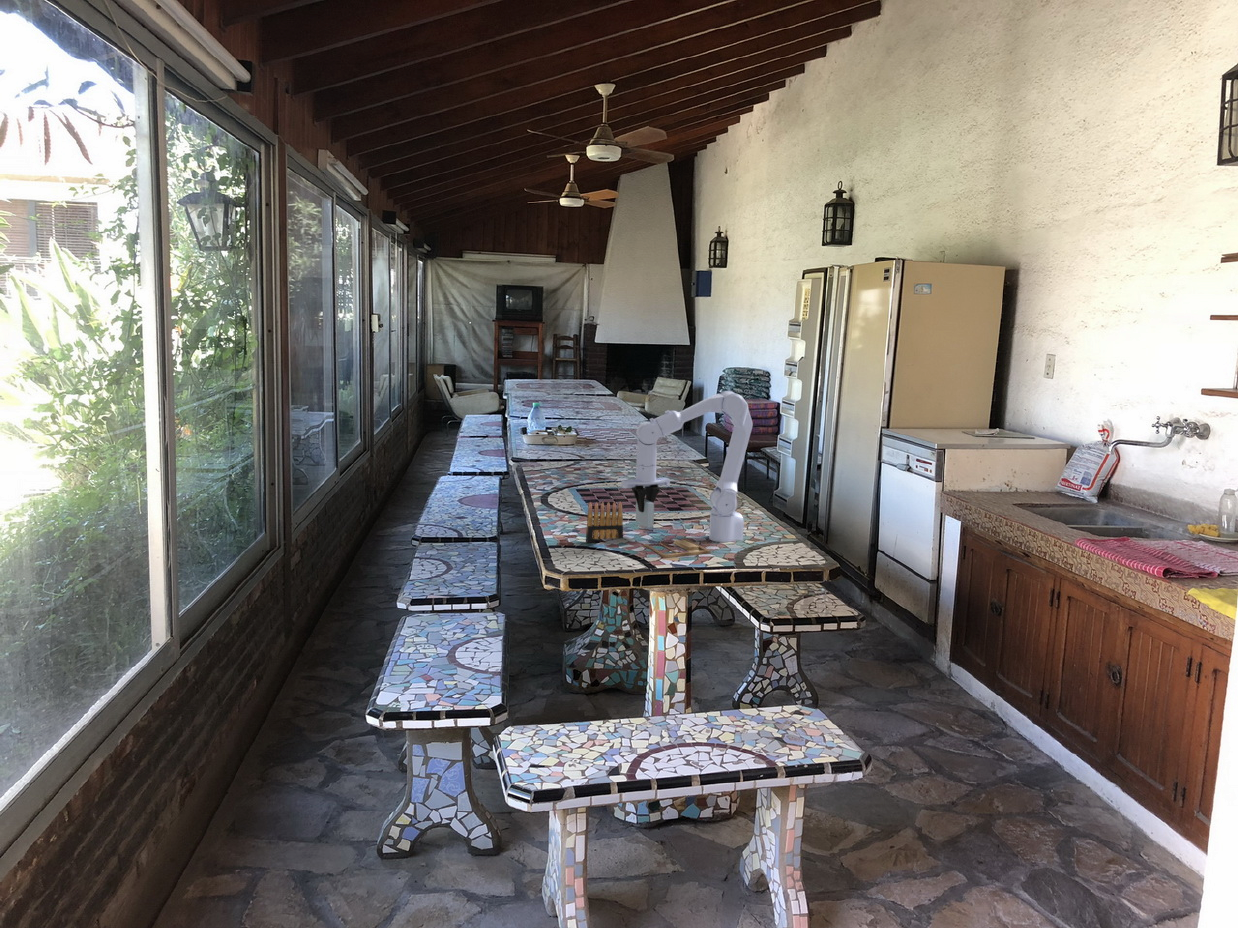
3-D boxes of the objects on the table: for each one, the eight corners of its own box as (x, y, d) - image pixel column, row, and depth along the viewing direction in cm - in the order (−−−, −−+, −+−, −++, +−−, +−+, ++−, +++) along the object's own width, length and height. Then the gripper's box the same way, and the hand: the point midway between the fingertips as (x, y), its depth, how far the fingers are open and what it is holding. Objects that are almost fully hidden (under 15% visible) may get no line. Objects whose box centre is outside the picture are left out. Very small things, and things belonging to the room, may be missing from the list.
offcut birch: (683, 544, 248) (683, 541, 248) (700, 553, 239) (700, 550, 239) (672, 545, 246) (673, 542, 246) (689, 555, 237) (689, 551, 237)
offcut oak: (683, 542, 247) (683, 539, 247) (698, 549, 240) (698, 546, 240) (674, 543, 245) (674, 540, 245) (689, 550, 239) (689, 547, 238)
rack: (686, 545, 249) (686, 538, 248) (710, 557, 237) (710, 550, 236) (641, 549, 243) (642, 542, 243) (663, 562, 231) (663, 555, 231)
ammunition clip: (621, 540, 252) (622, 500, 250) (623, 542, 250) (624, 501, 248) (585, 541, 250) (586, 501, 248) (586, 543, 248) (587, 502, 246)
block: (641, 521, 253) (641, 497, 252) (653, 527, 246) (654, 503, 245) (635, 521, 253) (636, 498, 252) (647, 527, 245) (648, 503, 244)
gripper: (662, 461, 253) (661, 506, 255) (617, 463, 247) (616, 509, 249) (673, 465, 247) (672, 511, 249) (627, 467, 241) (626, 515, 243)
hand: (644, 511), depth 249 cm, fingers closed on block, 2 cm apart
